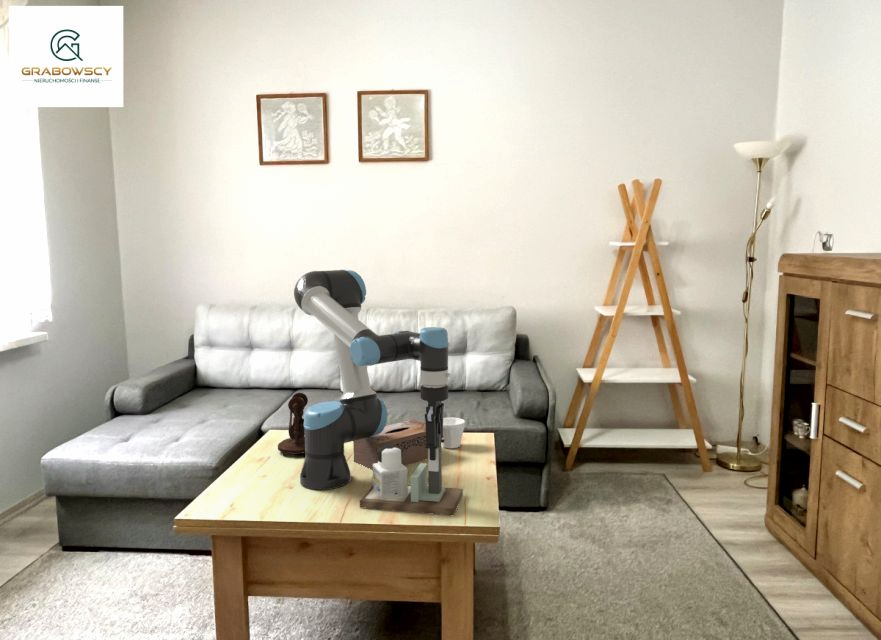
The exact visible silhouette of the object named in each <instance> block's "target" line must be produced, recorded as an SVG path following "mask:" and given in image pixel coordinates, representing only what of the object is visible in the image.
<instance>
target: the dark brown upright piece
mask: <svg viewBox="0 0 881 640" xmlns="http://www.w3.org/2000/svg"><path fill="white" fill-rule="evenodd" d="M308 402H309V401H308V396H307V395H306V393H304V392H295V394H293V396H292V397H291V398H290V400H289V401H288V403H287V407H288V410H289V421H288V422H289V423H288V436H289V438H286V439H283V440H282V441H280V442H279V443H277V450H278V451H279V452H280V453H281V455H282V456H283V457H284V456H285V454H292V455H293V454H295V455H296V454H305V432H304V418H303V416H304V415H305V412H304V409H305V407H306V406H307V405H308Z"/></svg>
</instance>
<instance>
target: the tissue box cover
mask: <svg viewBox="0 0 881 640" xmlns="http://www.w3.org/2000/svg"><path fill="white" fill-rule="evenodd" d="M352 442H353V444H352V447H353V463H355V462H356V463H355V464H357V463H358V465H360V464H361V465H360V466H362V465H363V466H362V467H364V466H365V467H364V468H366V467H367V468H366V469H369V468H370V469H369V470H371V469H372V470H371V471H373V464H374V463H378V449H379V448H380V447H383V446H386V445H395V446H398V447H400V448H401V463H402V464H403V465H404V466H405V467H407V466H410V465H413V464H416V462H417V463H419V461H420V462H423V461H426V460H425V459H427V460H428V448H425V446H426V423H425V421H422V420H419V419H415V418H413V419H412V418H411V419H409V420H404V421H400V422H395V423H391V424H386V426H385V427H384V430H383V431H382V432H381V433H380V434H378V435H375V436H372V437H370V438H363V439H359V440H355V441H352ZM422 460H423V461H422ZM412 463H413V464H412ZM409 464H410V465H409Z"/></svg>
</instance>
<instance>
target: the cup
mask: <svg viewBox="0 0 881 640" xmlns="http://www.w3.org/2000/svg"><path fill="white" fill-rule="evenodd" d="M465 426H466V421H465V419H463V418H459V417H443V438H442V439H444V443H441V447H443V448H444V449H446V450H454V449H455V448H456V449H459V448H458V447H461V443H462V438H463V434H464V430H465ZM456 449H455V450H456Z"/></svg>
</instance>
